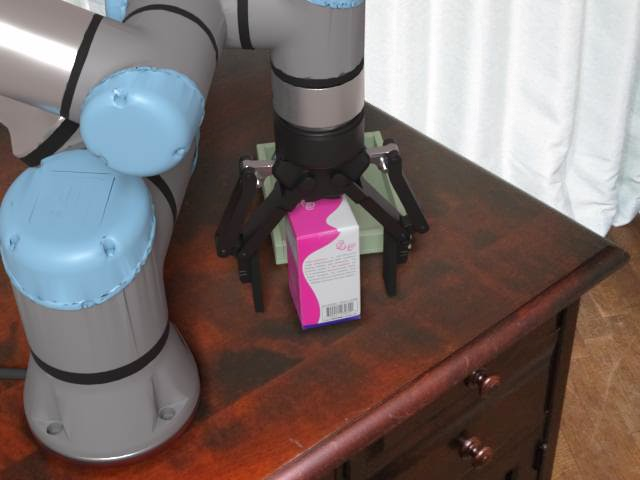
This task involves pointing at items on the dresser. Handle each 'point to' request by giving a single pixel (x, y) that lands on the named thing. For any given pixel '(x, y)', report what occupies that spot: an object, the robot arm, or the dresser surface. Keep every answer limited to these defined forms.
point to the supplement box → (323, 262)
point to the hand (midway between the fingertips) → (323, 294)
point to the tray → (367, 224)
